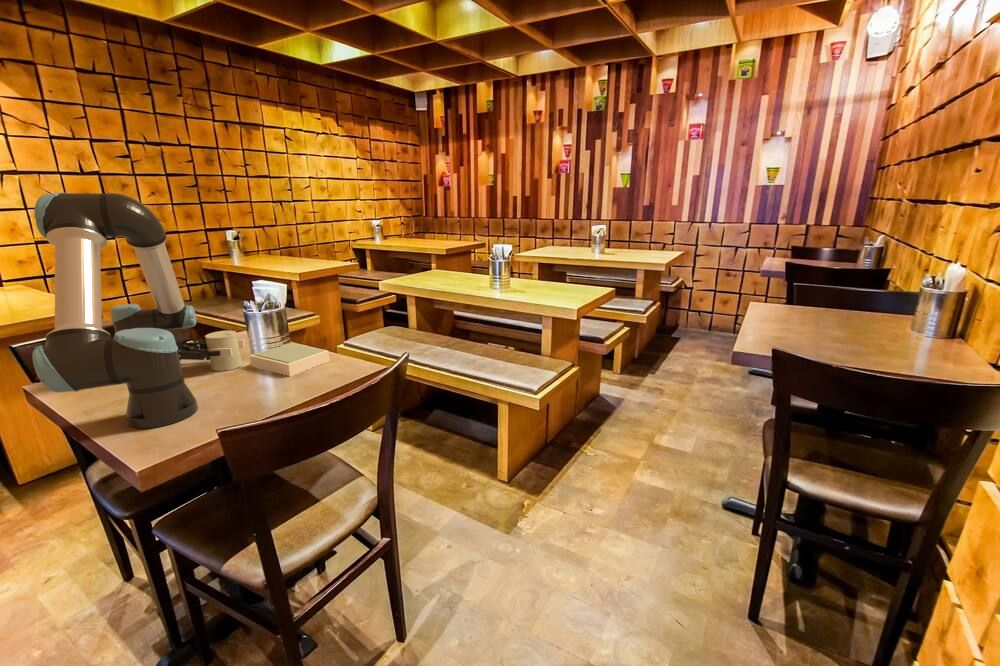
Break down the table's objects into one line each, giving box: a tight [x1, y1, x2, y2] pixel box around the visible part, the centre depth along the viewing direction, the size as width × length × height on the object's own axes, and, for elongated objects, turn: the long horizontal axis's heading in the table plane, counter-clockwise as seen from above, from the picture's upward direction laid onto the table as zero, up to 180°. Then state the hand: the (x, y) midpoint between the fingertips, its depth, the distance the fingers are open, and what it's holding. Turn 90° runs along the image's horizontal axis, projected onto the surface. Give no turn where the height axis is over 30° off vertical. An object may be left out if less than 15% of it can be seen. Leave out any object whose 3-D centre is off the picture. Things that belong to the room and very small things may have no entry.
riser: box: [249, 342, 331, 377], centre depth 155 cm, size 20×16×4 cm
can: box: [204, 330, 243, 372], centre depth 152 cm, size 9×9×12 cm
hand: (237, 347), depth 152 cm, fingers closed on can, 9 cm apart
